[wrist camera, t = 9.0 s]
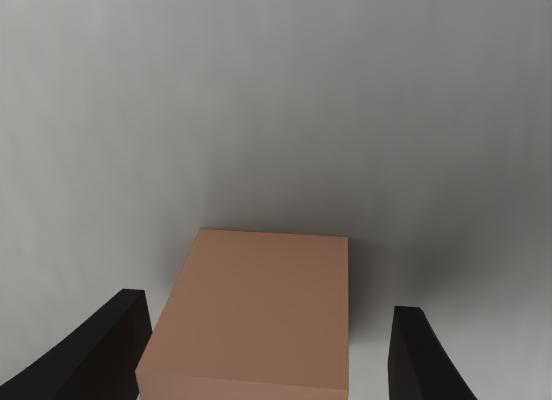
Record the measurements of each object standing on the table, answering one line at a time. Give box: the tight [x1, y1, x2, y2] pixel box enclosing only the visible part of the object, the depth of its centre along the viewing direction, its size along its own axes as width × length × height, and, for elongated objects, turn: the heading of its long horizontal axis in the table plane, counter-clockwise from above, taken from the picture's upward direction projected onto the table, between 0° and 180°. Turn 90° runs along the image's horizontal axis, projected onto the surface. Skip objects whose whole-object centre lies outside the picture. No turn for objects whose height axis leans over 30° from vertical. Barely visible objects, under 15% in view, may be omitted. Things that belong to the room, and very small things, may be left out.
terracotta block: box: [135, 229, 349, 400], centre depth 12 cm, size 4×4×5 cm
